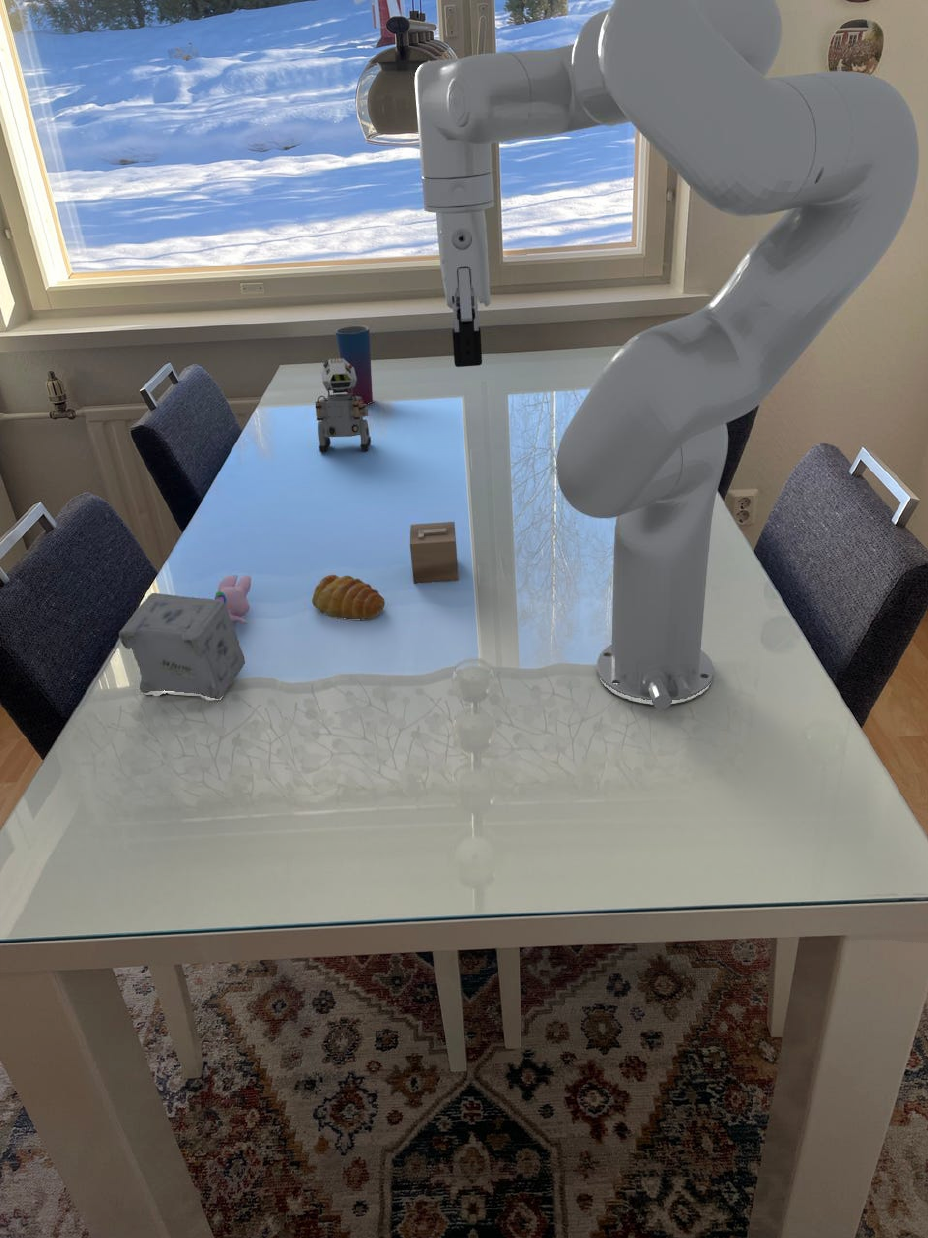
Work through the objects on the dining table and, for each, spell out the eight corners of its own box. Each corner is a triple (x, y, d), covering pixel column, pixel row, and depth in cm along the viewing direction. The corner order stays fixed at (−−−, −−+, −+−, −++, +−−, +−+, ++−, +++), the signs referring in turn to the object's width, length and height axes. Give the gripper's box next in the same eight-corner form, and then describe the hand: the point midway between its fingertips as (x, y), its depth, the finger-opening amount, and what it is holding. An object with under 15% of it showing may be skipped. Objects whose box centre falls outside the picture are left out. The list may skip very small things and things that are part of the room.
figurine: (376, 433, 178) (367, 354, 170) (366, 455, 168) (356, 372, 160) (329, 434, 179) (318, 356, 171) (316, 456, 169) (304, 374, 161)
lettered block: (458, 581, 125) (455, 538, 122) (413, 584, 125) (409, 542, 122) (457, 560, 130) (454, 519, 127) (414, 563, 130) (410, 522, 127)
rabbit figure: (242, 661, 114) (267, 584, 125) (231, 623, 110) (257, 548, 121) (192, 662, 114) (221, 586, 126) (179, 625, 111) (210, 550, 122)
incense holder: (136, 702, 105) (112, 623, 100) (176, 662, 112) (156, 586, 107) (213, 713, 102) (193, 632, 97) (249, 671, 109) (232, 593, 104)
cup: (339, 407, 193) (329, 333, 185) (352, 396, 199) (343, 324, 191) (370, 408, 191) (361, 333, 184) (382, 397, 197) (374, 325, 189)
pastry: (397, 605, 121) (394, 579, 119) (366, 630, 116) (362, 603, 114) (340, 590, 125) (336, 565, 123) (307, 614, 120) (303, 588, 119)
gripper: (497, 199, 94) (504, 380, 103) (489, 183, 107) (496, 345, 116) (423, 204, 94) (436, 385, 103) (423, 187, 107) (435, 349, 116)
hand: (468, 363), depth 109 cm, fingers closed
